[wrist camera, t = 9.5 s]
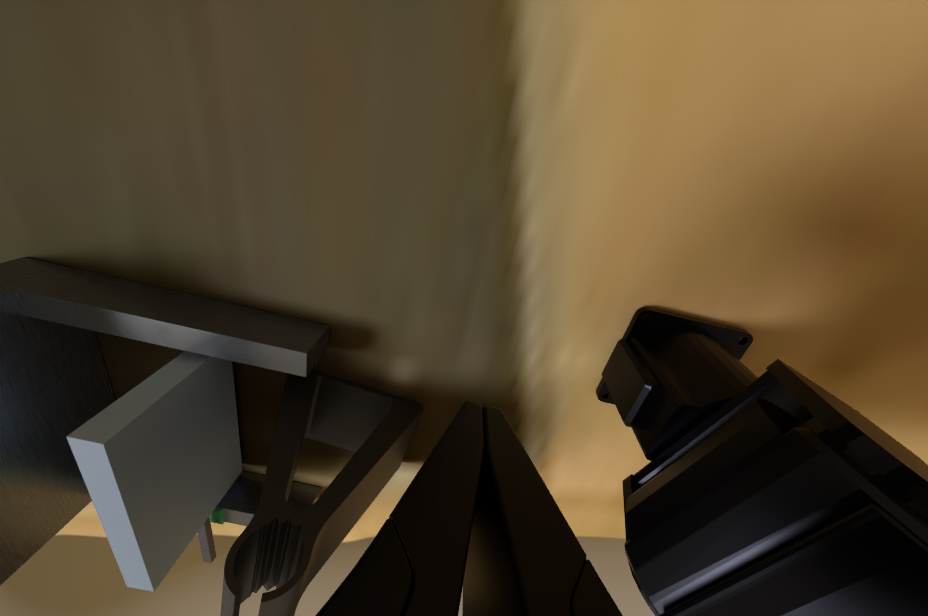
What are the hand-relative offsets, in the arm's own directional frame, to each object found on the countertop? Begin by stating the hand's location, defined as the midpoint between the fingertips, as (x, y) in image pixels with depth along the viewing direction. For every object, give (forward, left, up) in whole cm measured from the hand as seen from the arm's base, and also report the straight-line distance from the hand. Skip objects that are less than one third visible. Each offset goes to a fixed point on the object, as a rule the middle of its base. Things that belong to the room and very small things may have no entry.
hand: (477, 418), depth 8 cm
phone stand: (+6, +14, -12) cm, 19 cm away
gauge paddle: (+15, +18, -12) cm, 26 cm away
